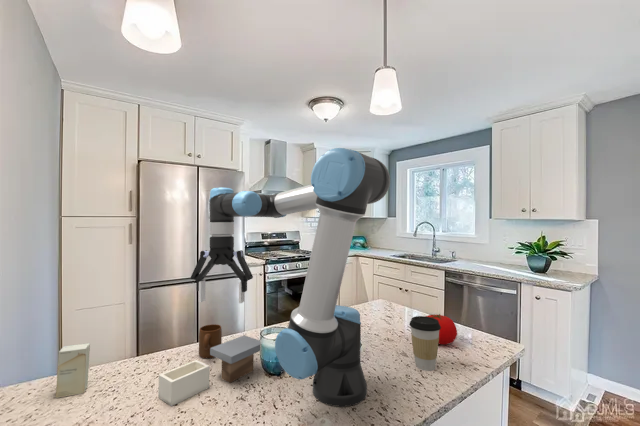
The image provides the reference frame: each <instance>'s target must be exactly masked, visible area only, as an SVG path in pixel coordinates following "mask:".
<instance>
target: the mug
mask: <svg viewBox="0 0 640 426" xmlns="http://www.w3.org/2000/svg"><path fill="white" fill-rule="evenodd" d="M222 329H223V328H222V326H221V324H207V325H203V326H201V327H200V328H199V332H198V355H199V357H200V358H202V359H213V358H215V357H214V356H212V355H210V348H212V347H214V346H217V345H220V344H222V343H223V342H222V339H223V336H222V335H223V334H222V333H223V330H222Z"/></svg>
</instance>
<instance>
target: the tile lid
mask: <svg viewBox="0 0 640 426" xmlns="http://www.w3.org/2000/svg"><path fill="white" fill-rule="evenodd" d="M260 341H261V339H260V340H259V339H256V338H253V337H252V336H247V335H245V334H244V335H242V336H238V337H235V338H233V339H230V340H229V341H226V342H222V343H221V344H220V345H217V346H214V347H212V348H210V355H212V356H214V358H217V359H218V360H221V361H222V360H223V361H225V362H228V363H230V364H232V363H235V362H237V361H239V360H241V359H243V358H246V357H248V356H250V355H252V354H254V355H255V354H257V353H259V352H261V351H260Z"/></svg>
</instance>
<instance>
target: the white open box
mask: <svg viewBox="0 0 640 426" xmlns="http://www.w3.org/2000/svg"><path fill="white" fill-rule="evenodd" d="M210 370H211V368H210V365H208V364H207V363H205V362H202V361H200V360H198V359H195V360H193V361H190V362H188V363H186V364H182V365H180V366H178V367H175V368H173V369H170V370H168V371H165V372H162V373H160V374H158V390H157V391H158V393H157V394H158V395H157V396H158V399H159V400H161V401H162V402H164V403H166V404H167V405H168V406H170V407H173V406H175V405H177V404H179V403H181V402H183V401H185V400H187V399H188V398H191V397H193V396H195V395H197V394H199V393H201V392H203V391H205V390H207V389H209V388H210Z"/></svg>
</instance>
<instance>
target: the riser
mask: <svg viewBox="0 0 640 426" xmlns="http://www.w3.org/2000/svg"><path fill="white" fill-rule="evenodd" d="M254 355H255V353H254V354H252V355H250V356H248V357H246V358H243V359H241V360H239V361H237V362H235V363H232V364H230V363H228V362H225V361H223V360H221V375H220V376H221V380H223V381H225V382H227V383H229V384H231V383H233V382H235V381H236V380H239V379H241V378H242V377H244V376H246V375H248V374H251V373H252V372H254V369H255V368H254V365H255V364H254V361H255V360H254V358H255V357H254Z"/></svg>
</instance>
